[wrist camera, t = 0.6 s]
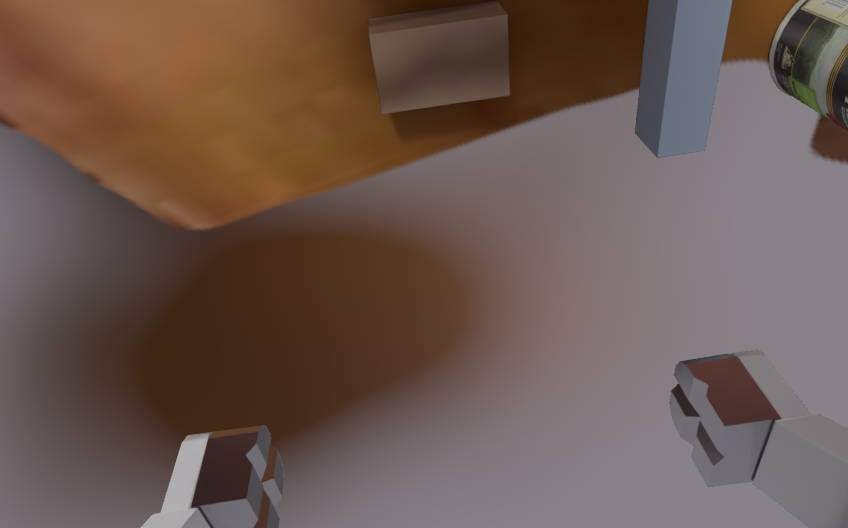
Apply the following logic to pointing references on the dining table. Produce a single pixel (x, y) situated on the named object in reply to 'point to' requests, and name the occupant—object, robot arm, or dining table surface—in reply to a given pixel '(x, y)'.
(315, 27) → the dining table surface
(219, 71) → the dining table surface
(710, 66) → the board
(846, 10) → the coffee can
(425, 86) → the walnut block
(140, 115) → the dining table surface
